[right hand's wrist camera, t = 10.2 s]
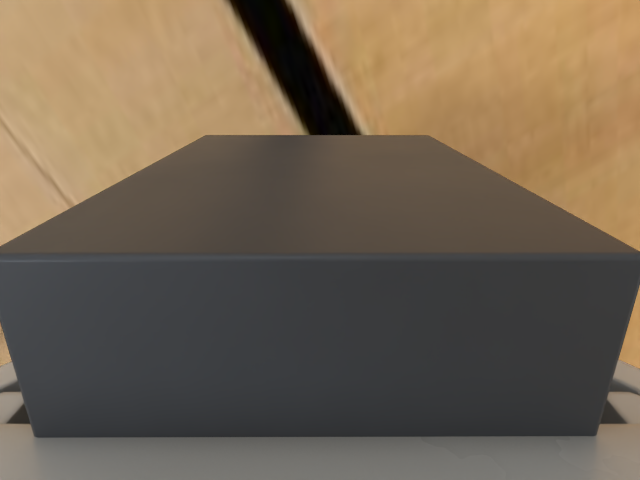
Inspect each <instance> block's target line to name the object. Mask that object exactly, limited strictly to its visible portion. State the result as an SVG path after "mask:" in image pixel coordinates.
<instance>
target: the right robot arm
mask: <svg viewBox="0 0 640 480" xmlns="http://www.w3.org/2000/svg"><path fill="white" fill-rule="evenodd" d="M0 480H640V369H639V368H637V367H634V366H632V365H630V364H628V363H625V362H623V361H621V360H618V362H617V366H616V369H615V372H614V376H613V379H612V383H611V386H610V390H609V393H608V397H607V400H606V404H605V407H604V411H603V414H602V418H601V421H600V425H599V428H598V432H597V435H595V436H467V437H96V438H37V437H34V434H33V431H32V428H31V424H30V421H29V417H28V414H27V411H26V407H25V404H24V400H23V397H22V394H21V390H20V387H19V383H18V380H17V377H16V373H15V370H14V367H13V363H12V361H11V362H9V363H7V364H4V365H2V366H0Z"/></svg>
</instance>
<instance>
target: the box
mask: <svg viewBox="0 0 640 480" xmlns="http://www.w3.org/2000/svg"><path fill="white" fill-rule="evenodd" d="M639 285H640V251H638V250H636V249H634V248H632V247H631V246H629V245H627V244H625V243H623V242H621V241H620V240H618V239H616V238H614V237H612V236H611V235H609V234H607V233H605V232H603V231H601V230H600V229H598V228H596V227H594V226H592V225H591V224H589V223H587V222H585V221H583V220H581V219H580V218H578V217H576V216H574V215H572V214H571V213H569V212H567V211H565V210H563V209H561V208H560V207H558V206H556V205H554V204H552V203H551V202H549V201H547V200H545V199H543V198H541V197H540V196H538V195H536V194H534V193H532V192H531V191H529V190H527V189H525V188H523V187H521V186H520V185H518V184H516V183H514V182H512V181H511V180H509V179H507V178H505V177H503V176H501V175H500V174H498V173H496V172H494V171H492V170H491V169H489V168H487V167H485V166H483V165H481V164H480V163H478V162H476V161H474V160H472V159H470V158H469V157H467V156H465V155H463V154H461V153H460V152H458V151H456V150H454V149H452V148H450V147H449V146H447V145H445V144H443V143H441V142H440V141H438V140H436V139H434V138H432V137H430V136H428V135H206V136H203V137H202V138H200V139H198V140H196V141H194V142H192V143H191V144H189V145H187V146H185V147H183V148H181V149H179V150H178V151H176V152H174V153H172V154H170V155H168V156H166V157H165V158H163V159H161V160H159V161H157V162H155V163H153V164H152V165H150V166H148V167H146V168H144V169H142V170H141V171H139V172H137V173H135V174H133V175H131V176H129V177H128V178H126V179H124V180H122V181H120V182H118V183H116V184H115V185H113V186H111V187H109V188H107V189H105V190H104V191H102V192H100V193H98V194H96V195H94V196H92V197H91V198H89V199H87V200H85V201H83V202H81V203H79V204H78V205H76V206H74V207H72V208H70V209H68V210H67V211H65V212H63V213H61V214H59V215H57V216H55V217H54V218H52V219H50V220H48V221H46V222H44V223H42V224H41V225H39V226H37V227H35V228H33V229H31V230H29V231H28V232H26V233H24V234H22V235H20V236H18V237H17V238H15V239H13V240H11V241H9V242H7V243H5V244H4V245H2V246H0V322H1V326H2V329H3V333H4V336H5V339H6V343H7V346H8V350H9V353H10V356H11V360H12V363H13V367H14V370H15V373H16V377H17V380H18V383H19V387H20V390H21V394H22V397H23V400H24V404H25V407H26V411H27V414H28V417H29V421H30V424H31V428H32V431H33V434H34V437H37V438H96V437H467V436H595V435H597V432H598V428H599V425H600V421H601V418H602V414H603V411H604V407H605V404H606V400H607V397H608V393H609V390H610V386H611V383H612V379H613V376H614V372H615V369H616V366H617V362H618V359H619V355H620V352H621V348H622V345H623V341H624V338H625V334H626V331H627V327H628V324H629V320H630V317H631V313H632V310H633V306H634V303H635V299H636V296H637V292H638V289H639Z"/></svg>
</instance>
